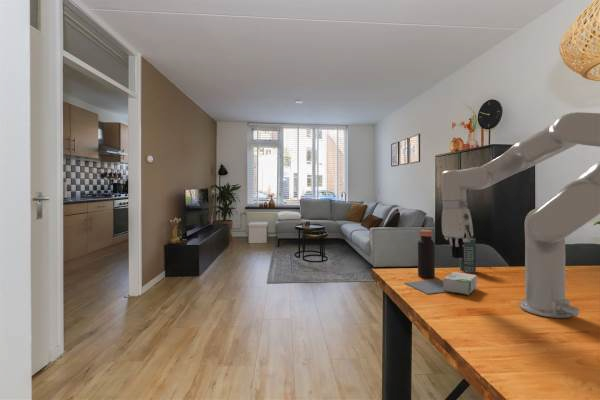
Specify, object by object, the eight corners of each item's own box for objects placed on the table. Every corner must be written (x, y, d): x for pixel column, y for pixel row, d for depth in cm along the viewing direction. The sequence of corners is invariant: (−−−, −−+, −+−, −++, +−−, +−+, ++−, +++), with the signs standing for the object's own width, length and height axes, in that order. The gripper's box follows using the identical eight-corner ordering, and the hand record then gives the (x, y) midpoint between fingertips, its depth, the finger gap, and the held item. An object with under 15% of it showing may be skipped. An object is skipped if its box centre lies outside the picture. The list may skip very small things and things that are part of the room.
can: (474, 269, 141) (473, 237, 141) (476, 272, 136) (476, 239, 135) (459, 268, 144) (459, 237, 143) (461, 271, 138) (461, 239, 137)
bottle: (426, 279, 127) (425, 232, 127) (414, 275, 133) (414, 230, 133) (438, 277, 130) (438, 231, 129) (426, 273, 136) (426, 229, 136)
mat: (464, 290, 112) (464, 289, 112) (427, 294, 108) (427, 293, 108) (437, 279, 126) (437, 279, 126) (404, 283, 122) (404, 282, 122)
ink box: (469, 296, 105) (477, 287, 114) (469, 281, 105) (477, 274, 114) (443, 290, 111) (452, 283, 120) (443, 277, 111) (452, 271, 120)
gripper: (481, 204, 100) (484, 260, 99) (448, 204, 114) (451, 253, 114) (462, 205, 98) (465, 262, 97) (431, 206, 112) (434, 255, 112)
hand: (457, 257), depth 106 cm, fingers closed
